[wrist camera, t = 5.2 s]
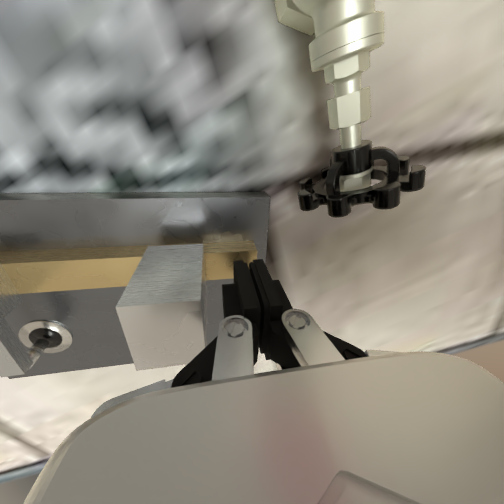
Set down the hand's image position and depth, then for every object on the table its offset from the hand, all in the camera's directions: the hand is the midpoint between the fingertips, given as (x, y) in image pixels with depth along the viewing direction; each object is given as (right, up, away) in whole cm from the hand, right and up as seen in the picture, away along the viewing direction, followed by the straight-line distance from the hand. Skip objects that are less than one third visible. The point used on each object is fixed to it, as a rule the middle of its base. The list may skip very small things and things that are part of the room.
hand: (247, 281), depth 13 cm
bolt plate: (-9, -1, +4) cm, 10 cm away
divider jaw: (-4, -1, +3) cm, 5 cm away
